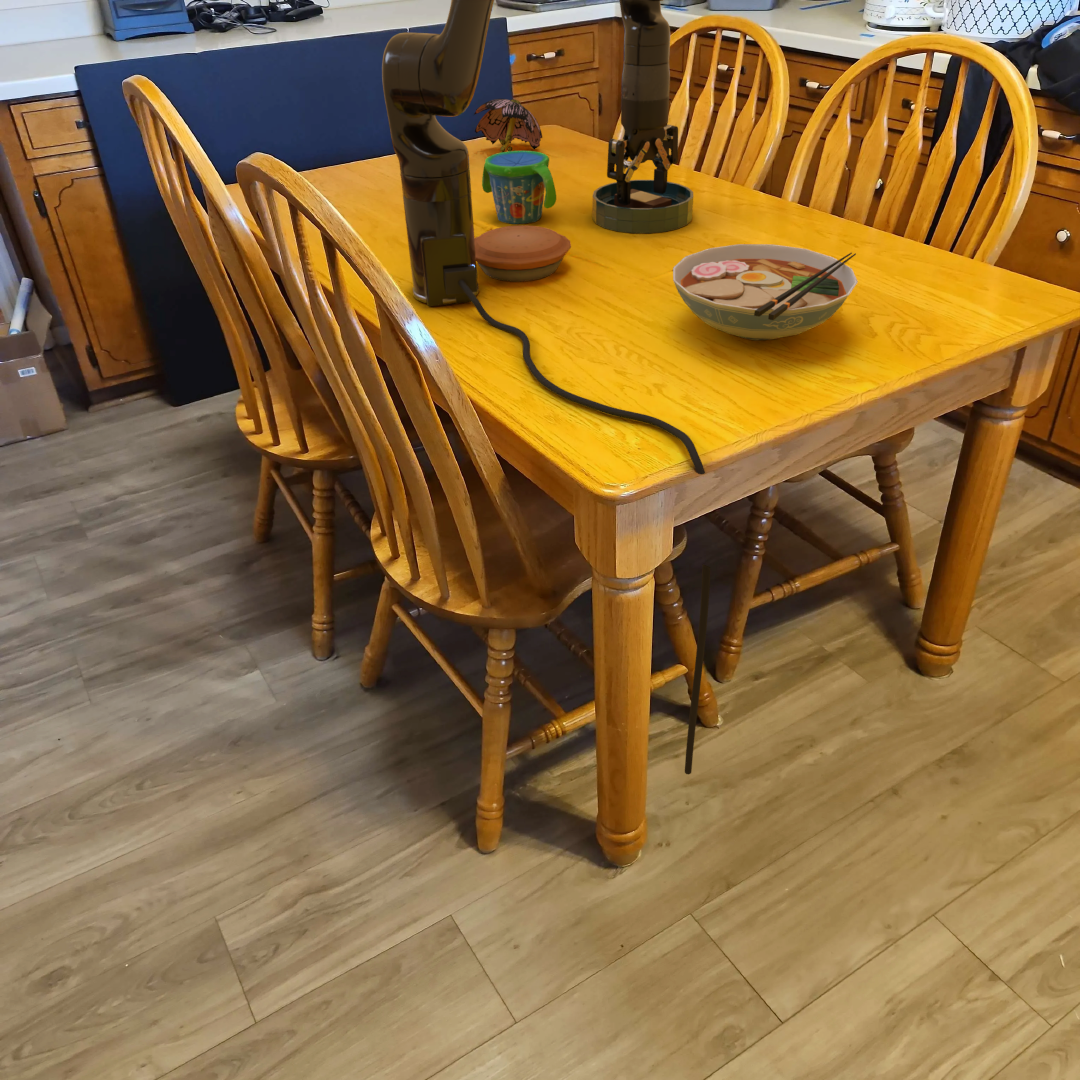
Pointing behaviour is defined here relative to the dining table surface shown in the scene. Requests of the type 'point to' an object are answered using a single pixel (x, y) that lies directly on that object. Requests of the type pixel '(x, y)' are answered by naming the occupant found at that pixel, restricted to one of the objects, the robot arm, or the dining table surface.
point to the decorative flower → (508, 123)
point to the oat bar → (644, 200)
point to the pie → (520, 252)
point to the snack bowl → (643, 209)
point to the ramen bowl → (763, 288)
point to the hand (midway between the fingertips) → (642, 198)
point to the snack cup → (519, 185)
